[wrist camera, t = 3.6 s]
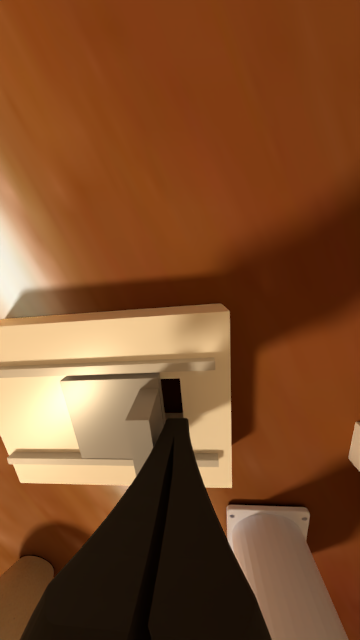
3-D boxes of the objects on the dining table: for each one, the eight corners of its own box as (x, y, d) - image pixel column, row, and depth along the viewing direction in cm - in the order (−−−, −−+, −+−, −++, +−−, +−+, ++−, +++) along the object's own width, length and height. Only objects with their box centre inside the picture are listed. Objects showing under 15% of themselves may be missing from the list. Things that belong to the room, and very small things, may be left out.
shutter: (169, 450, 12) (162, 503, 10) (86, 450, 13) (56, 499, 10) (159, 372, 11) (147, 407, 8) (66, 376, 11) (23, 409, 9)
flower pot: (-6, 567, 24) (-85, 683, 17) (14, 532, 22) (-69, 651, 15) (56, 595, 25) (4, 718, 18) (83, 565, 22) (34, 693, 16)
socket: (224, 449, 16) (233, 496, 13) (49, 448, 18) (14, 489, 14) (221, 303, 13) (231, 313, 9) (4, 318, 14) (-56, 331, 11)
